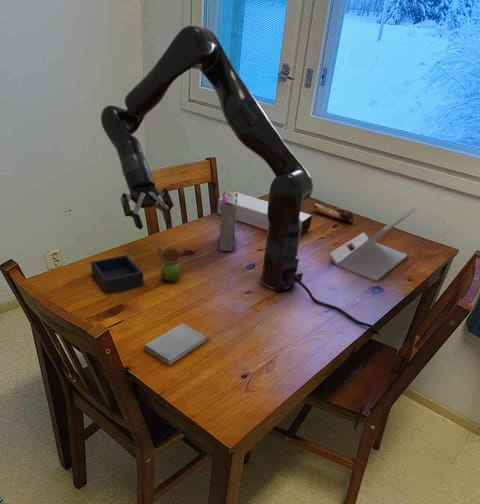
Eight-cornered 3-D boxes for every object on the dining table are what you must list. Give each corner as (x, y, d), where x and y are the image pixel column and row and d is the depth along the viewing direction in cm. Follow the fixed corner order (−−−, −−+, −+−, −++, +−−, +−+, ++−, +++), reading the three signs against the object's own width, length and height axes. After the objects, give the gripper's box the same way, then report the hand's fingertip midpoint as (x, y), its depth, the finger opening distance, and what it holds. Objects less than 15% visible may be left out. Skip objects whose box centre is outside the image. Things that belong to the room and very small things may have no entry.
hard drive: (169, 360, 101) (206, 336, 110) (143, 344, 105) (181, 321, 113) (169, 366, 102) (206, 341, 111) (144, 350, 106) (181, 327, 114)
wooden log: (359, 221, 183) (320, 206, 191) (362, 210, 181) (323, 195, 189) (348, 226, 177) (309, 211, 185) (352, 215, 174) (312, 200, 182)
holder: (143, 285, 129) (143, 272, 126) (106, 294, 124) (105, 280, 121) (127, 267, 136) (126, 254, 134) (92, 274, 131) (90, 261, 129)
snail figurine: (156, 275, 134) (155, 238, 127) (177, 274, 136) (178, 237, 129) (159, 285, 130) (158, 247, 123) (181, 283, 131) (182, 245, 124)
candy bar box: (220, 236, 159) (223, 190, 150) (234, 237, 159) (238, 191, 150) (218, 250, 150) (221, 202, 141) (233, 252, 150) (237, 204, 141)
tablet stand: (407, 256, 159) (422, 210, 150) (376, 281, 143) (391, 231, 133) (360, 239, 168) (372, 194, 158) (326, 260, 151) (337, 211, 141)
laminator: (309, 230, 170) (312, 215, 167) (294, 241, 161) (297, 225, 158) (232, 206, 183) (233, 191, 180) (215, 215, 174) (216, 199, 171)
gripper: (116, 169, 125) (135, 224, 124) (163, 164, 132) (182, 217, 131) (110, 182, 131) (128, 235, 130) (156, 177, 138) (173, 227, 137)
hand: (155, 226), depth 131 cm, fingers open, 8 cm apart
